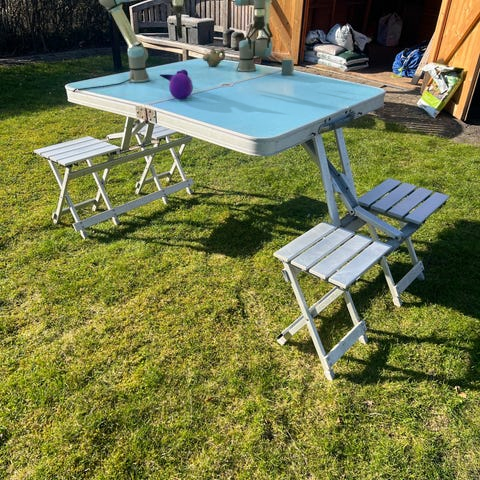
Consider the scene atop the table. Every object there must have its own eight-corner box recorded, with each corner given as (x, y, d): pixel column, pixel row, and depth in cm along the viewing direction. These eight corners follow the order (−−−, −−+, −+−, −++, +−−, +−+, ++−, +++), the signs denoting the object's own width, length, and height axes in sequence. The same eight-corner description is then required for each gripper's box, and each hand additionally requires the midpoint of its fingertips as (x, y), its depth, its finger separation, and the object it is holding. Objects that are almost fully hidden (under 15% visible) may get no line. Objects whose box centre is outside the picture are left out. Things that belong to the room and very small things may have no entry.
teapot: (206, 68, 381) (205, 49, 373) (200, 66, 390) (199, 47, 382) (228, 65, 390) (227, 47, 383) (221, 64, 399) (221, 45, 391)
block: (291, 75, 347) (291, 60, 342) (281, 75, 350) (281, 59, 344) (293, 74, 353) (294, 58, 347) (283, 73, 355) (284, 58, 349)
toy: (183, 91, 304) (192, 105, 283) (157, 86, 297) (165, 100, 276) (187, 67, 296) (198, 79, 275) (161, 62, 289) (170, 74, 268)
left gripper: (184, 6, 317) (186, 39, 327) (181, 4, 338) (183, 35, 349) (173, 6, 315) (175, 39, 326) (171, 4, 337) (173, 35, 347)
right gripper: (243, 17, 310) (244, 50, 321) (277, 15, 316) (276, 47, 327) (240, 16, 316) (241, 48, 327) (273, 14, 322) (273, 46, 333)
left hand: (179, 37), depth 337 cm, fingers open, 13 cm apart
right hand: (259, 48), depth 327 cm, fingers open, 13 cm apart
